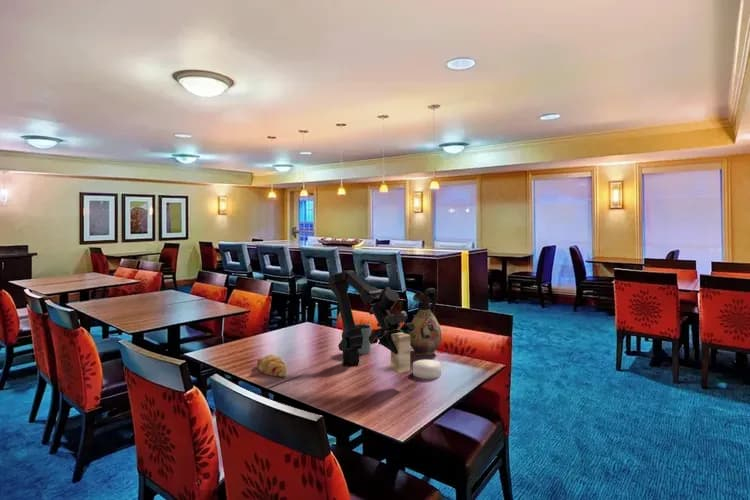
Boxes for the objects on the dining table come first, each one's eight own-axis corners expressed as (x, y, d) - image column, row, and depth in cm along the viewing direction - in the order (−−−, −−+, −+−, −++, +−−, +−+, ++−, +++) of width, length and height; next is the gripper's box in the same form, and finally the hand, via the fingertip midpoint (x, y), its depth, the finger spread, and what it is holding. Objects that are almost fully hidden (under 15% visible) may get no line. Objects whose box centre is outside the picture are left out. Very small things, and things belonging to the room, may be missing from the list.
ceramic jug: (418, 359, 187) (417, 291, 186) (402, 350, 202) (401, 287, 200) (451, 354, 194) (451, 288, 192) (433, 346, 208) (433, 284, 207)
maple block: (390, 369, 158) (391, 334, 157) (401, 366, 160) (401, 332, 160) (399, 373, 154) (399, 337, 153) (410, 370, 156) (410, 335, 156)
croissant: (291, 385, 169) (299, 365, 172) (271, 379, 163) (279, 358, 165) (264, 371, 185) (272, 353, 187) (244, 365, 178) (252, 346, 180)
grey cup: (371, 354, 196) (370, 328, 195) (349, 355, 196) (348, 329, 195) (371, 348, 206) (371, 323, 205) (350, 348, 206) (350, 323, 205)
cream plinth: (415, 379, 164) (415, 369, 164) (411, 369, 175) (411, 360, 175) (444, 378, 165) (444, 368, 164) (438, 368, 176) (437, 359, 175)
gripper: (372, 307, 153) (392, 345, 145) (412, 301, 164) (432, 335, 156) (360, 325, 160) (378, 362, 152) (398, 318, 171) (417, 352, 163)
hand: (402, 352), depth 156 cm, fingers closed on maple block, 5 cm apart
